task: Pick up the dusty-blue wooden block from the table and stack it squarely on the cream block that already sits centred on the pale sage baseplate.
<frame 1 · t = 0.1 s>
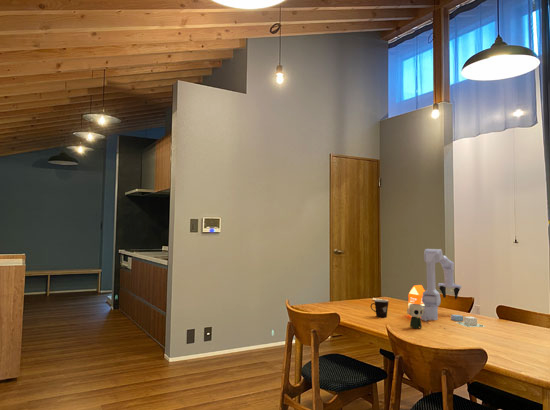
hand: (450, 298, 278), 11 cm above the table, tool pointing down, fingers open, 7 cm apart
baseplate: (470, 326, 239), on the table
cream block: (470, 324, 239), point 1 cm above the table, touching baseplate
coffee mug: (379, 317, 262), on the table
orange juice: (417, 316, 266), on the table
blue block: (457, 322, 251), on the table
toy figurine: (415, 328, 232), on the table
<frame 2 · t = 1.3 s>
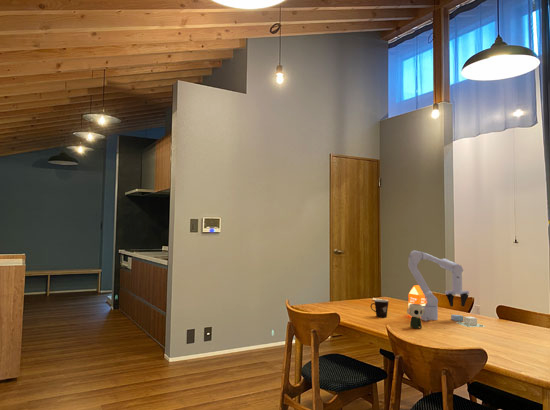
hand: (457, 306, 252), 9 cm above the table, tool pointing down, fingers open, 7 cm apart
nothing on the table moved.
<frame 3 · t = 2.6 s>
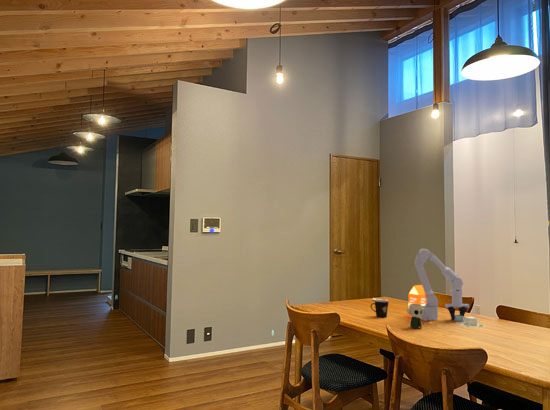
hand: (457, 319, 251), 1 cm above the table, tool pointing down, fingers closed on blue block, 5 cm apart
blue block: (457, 321, 251), on the table, touching gripper
everything else where it was.
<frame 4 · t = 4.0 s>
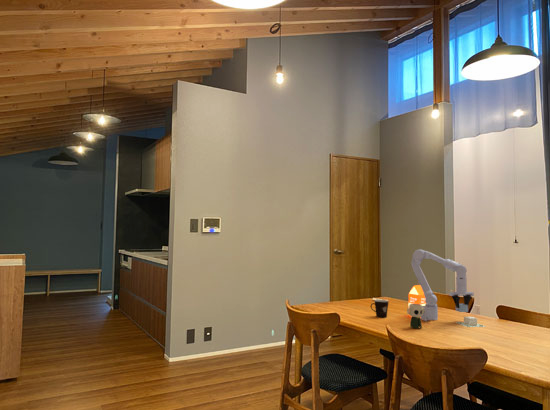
hand: (461, 307, 247), 9 cm above the table, tool pointing down, fingers closed on blue block, 5 cm apart
blue block: (461, 311, 247), point 7 cm above the table, touching gripper
everything else where it was.
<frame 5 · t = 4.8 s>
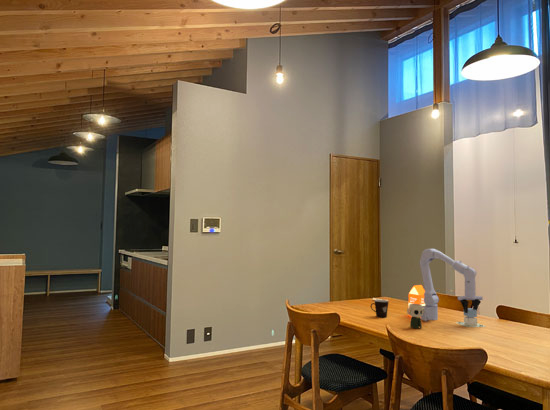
hand: (470, 312, 240), 8 cm above the table, tool pointing down, fingers closed on blue block, 5 cm apart
blue block: (470, 316, 240), point 6 cm above the table, touching gripper
everything else where it was.
when the fingers open (8 cm above the table, at t = 5.3 s): blue block stays where it is, resting on cream block.
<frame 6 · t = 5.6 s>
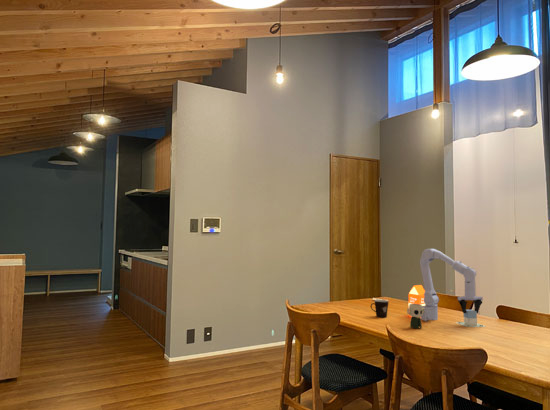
hand: (470, 312, 240), 8 cm above the table, tool pointing down, fingers open, 7 cm apart
cream block: (470, 324, 239), point 1 cm above the table, touching baseplate, blue block
blue block: (470, 317, 240), point 5 cm above the table, touching cream block
everything else where it was.
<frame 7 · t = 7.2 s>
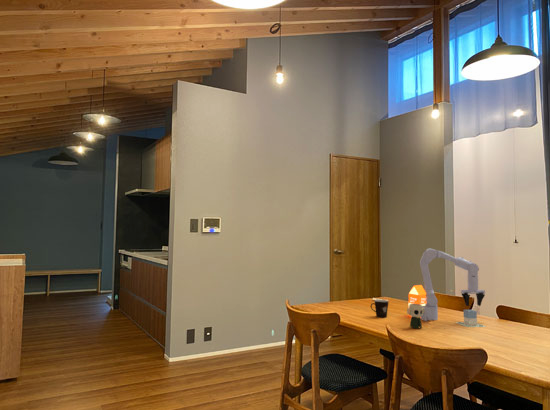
hand: (473, 305, 249), 10 cm above the table, tool pointing down, fingers open, 7 cm apart
nothing on the table moved.
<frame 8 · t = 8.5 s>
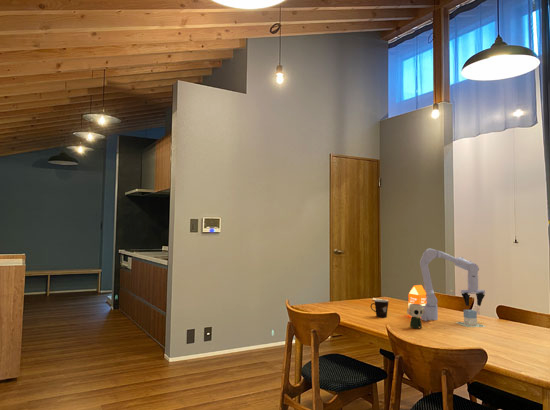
hand: (473, 305, 249), 10 cm above the table, tool pointing down, fingers open, 7 cm apart
nothing on the table moved.
at the end: blue block 0.3 cm off-centre on the cream block, point 4.0 cm above the cream block's base; cream block 0.0 cm off-centre on the baseplate, point 1.0 cm above the baseplate's base; the gripper is holding nothing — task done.
